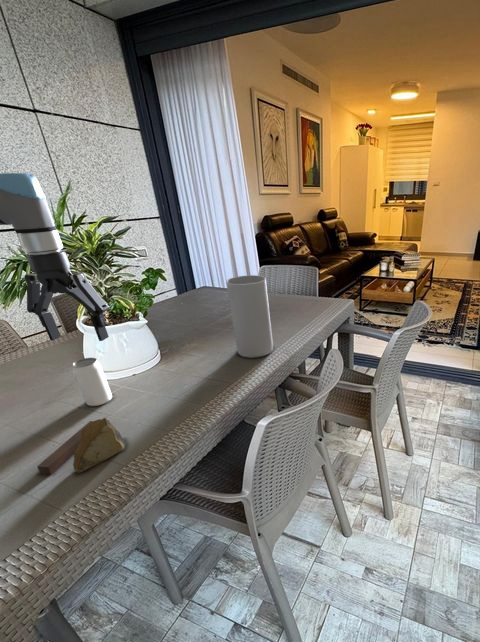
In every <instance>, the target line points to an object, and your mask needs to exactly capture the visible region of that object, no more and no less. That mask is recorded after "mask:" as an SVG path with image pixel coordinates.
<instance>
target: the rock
mask: <svg viewBox="0 0 480 642" xmlns="http://www.w3.org/2000/svg"><path fill="white" fill-rule="evenodd" d="M92 421H93V422H92V423H91V424H90V425H88V426H87V427H86V428H84V429H82V431H81V438H80V440H79V444H78V448H77V449H76V450H75V453H74V454H73V463H72V466H73V469H74V471H75V472H76V473H77V474H80V473H83V472H84V471H86V470H88V469H90V468H92V467H94V466H96V465H98V464H99V463H101V462H103V461H105V460H107V459H109V458H112V457H113V456H115V455H116V454H119V453H120V452H122V451H123V450H124V449H125V447H126V446H125V445H126V444H125V443H126V442H125V440H124V438H123V436H122V434H121V433H120V431H119V430H118V429H117V428H116V427H115V426H114V424H113V423H112V422H111V421H110V420H108V419H107V418H106V417H103V418H102V419H99V418H98V419H96V420H92Z"/></svg>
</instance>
